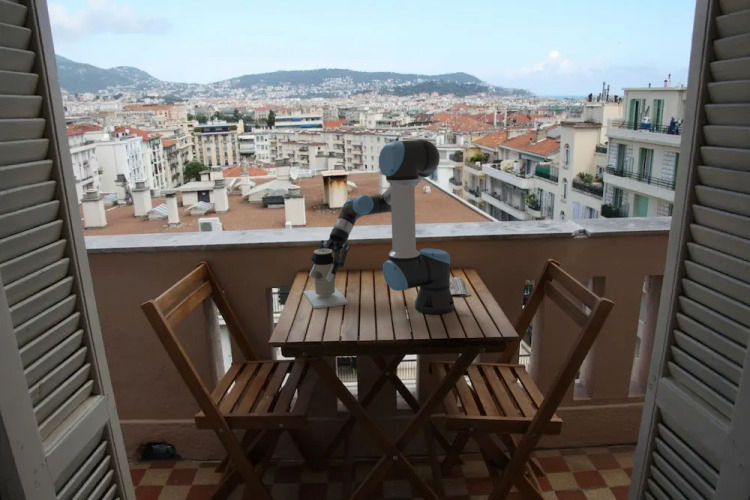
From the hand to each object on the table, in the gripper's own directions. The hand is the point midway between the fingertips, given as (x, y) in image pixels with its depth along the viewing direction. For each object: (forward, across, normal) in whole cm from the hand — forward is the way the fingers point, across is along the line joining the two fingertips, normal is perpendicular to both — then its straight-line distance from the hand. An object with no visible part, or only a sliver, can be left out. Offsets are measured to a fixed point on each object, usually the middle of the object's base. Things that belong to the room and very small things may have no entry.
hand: (319, 278), depth 224 cm
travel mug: (+3, 0, -8) cm, 8 cm away
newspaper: (-22, -41, -37) cm, 59 cm away
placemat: (+4, 0, -9) cm, 10 cm away
